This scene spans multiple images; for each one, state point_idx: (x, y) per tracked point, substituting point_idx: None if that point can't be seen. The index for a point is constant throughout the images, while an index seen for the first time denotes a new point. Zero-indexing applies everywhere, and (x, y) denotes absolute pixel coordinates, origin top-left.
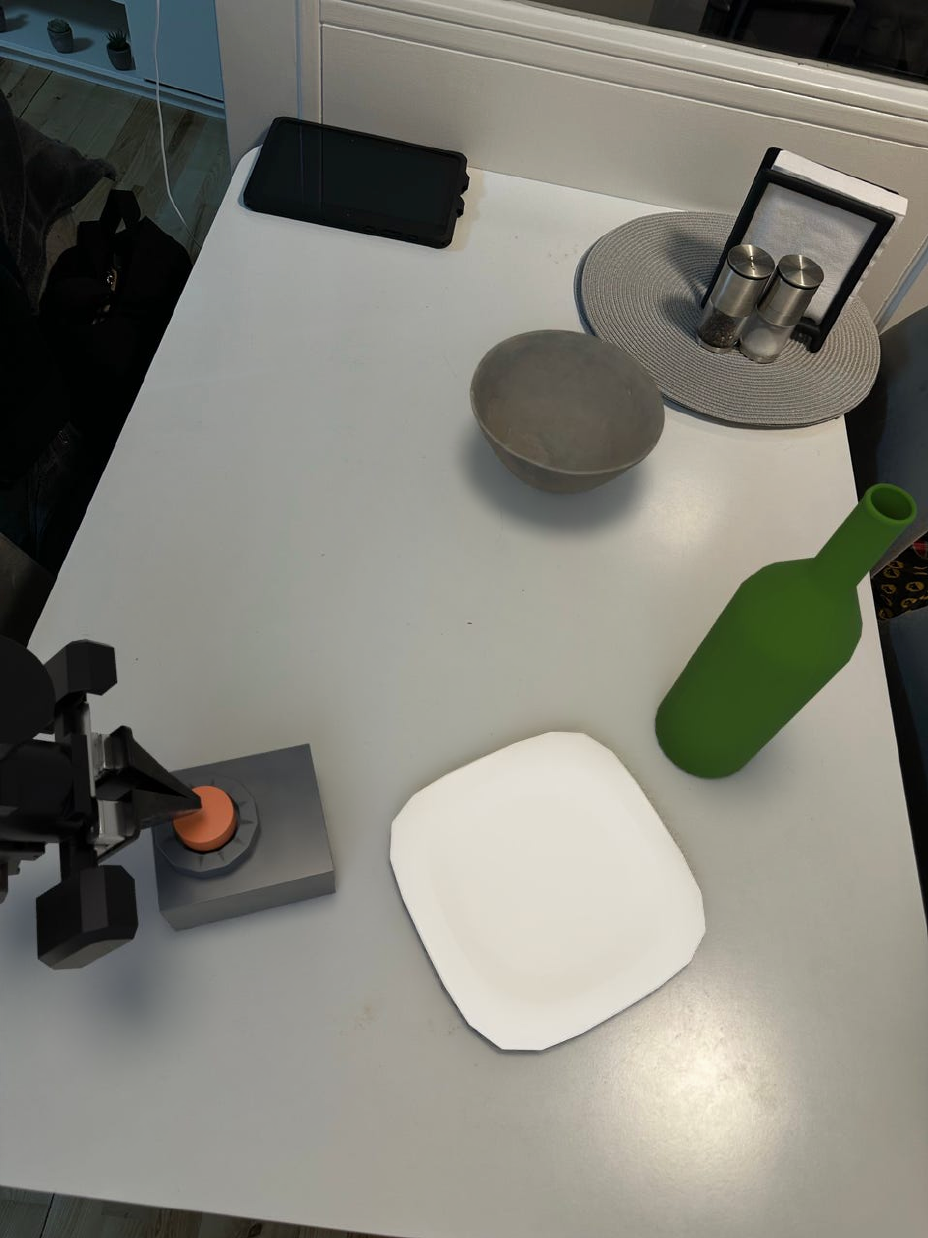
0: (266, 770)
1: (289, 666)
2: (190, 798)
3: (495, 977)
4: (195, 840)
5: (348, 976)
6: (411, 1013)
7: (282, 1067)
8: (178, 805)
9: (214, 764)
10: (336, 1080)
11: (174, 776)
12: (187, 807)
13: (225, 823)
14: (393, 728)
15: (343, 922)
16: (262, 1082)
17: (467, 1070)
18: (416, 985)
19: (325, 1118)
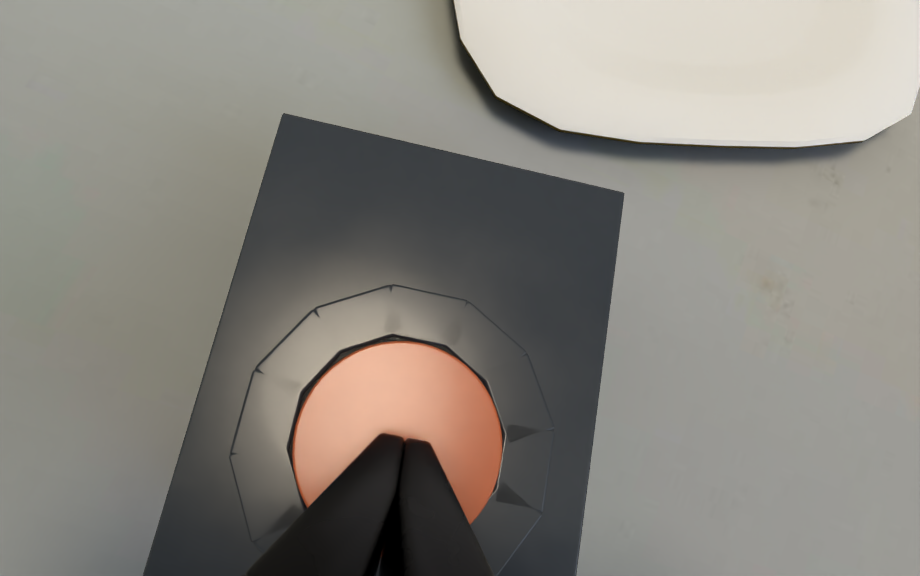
0: (303, 238)
1: (38, 142)
2: (398, 480)
3: (807, 71)
4: (480, 500)
5: (706, 292)
6: (793, 223)
7: (810, 456)
8: (464, 566)
9: (212, 364)
10: (853, 377)
11: (279, 538)
12: (454, 511)
13: (464, 384)
14: (299, 23)
15: (617, 263)
16: (822, 498)
17: (892, 184)
18: (756, 197)
19: (900, 416)
